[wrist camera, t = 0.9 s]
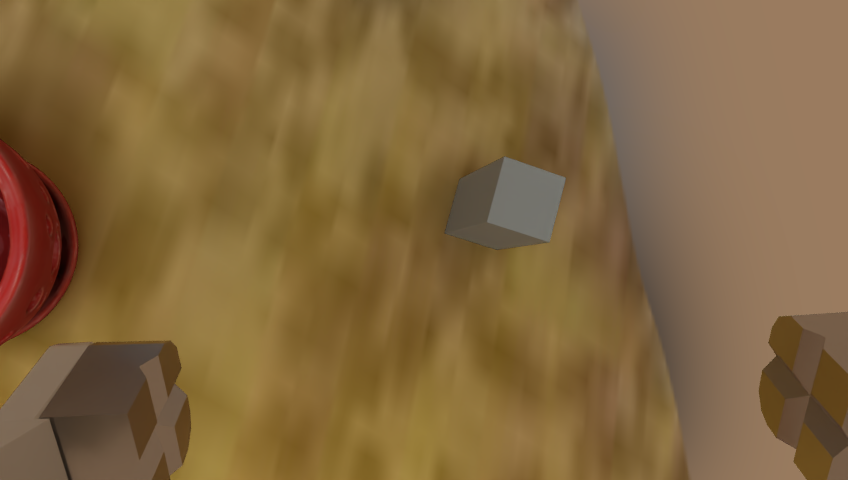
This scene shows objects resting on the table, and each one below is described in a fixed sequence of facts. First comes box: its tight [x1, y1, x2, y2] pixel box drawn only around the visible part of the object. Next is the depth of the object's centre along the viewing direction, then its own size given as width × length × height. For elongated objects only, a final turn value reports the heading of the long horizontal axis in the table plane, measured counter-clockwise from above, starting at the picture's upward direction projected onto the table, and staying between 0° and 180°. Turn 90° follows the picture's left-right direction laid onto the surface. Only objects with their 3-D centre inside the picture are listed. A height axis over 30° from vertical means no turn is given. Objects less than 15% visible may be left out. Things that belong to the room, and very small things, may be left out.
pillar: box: [445, 156, 566, 250], centre depth 45 cm, size 4×4×9 cm
